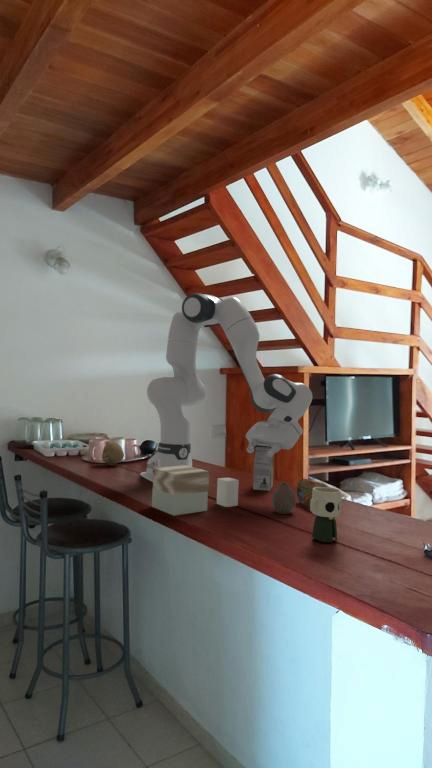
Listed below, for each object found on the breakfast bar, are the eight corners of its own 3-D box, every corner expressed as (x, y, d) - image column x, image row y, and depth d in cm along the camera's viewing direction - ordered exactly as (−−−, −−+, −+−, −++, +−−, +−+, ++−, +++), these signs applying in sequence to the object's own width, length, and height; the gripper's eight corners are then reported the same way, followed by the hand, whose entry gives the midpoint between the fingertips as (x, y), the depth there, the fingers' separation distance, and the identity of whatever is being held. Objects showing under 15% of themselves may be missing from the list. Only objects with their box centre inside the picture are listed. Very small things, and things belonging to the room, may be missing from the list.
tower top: (152, 487, 168) (153, 467, 168) (185, 484, 176) (186, 465, 176) (175, 495, 159) (175, 474, 159) (208, 491, 166) (209, 471, 166)
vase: (296, 511, 170) (298, 482, 170) (292, 516, 164) (293, 486, 163) (274, 508, 172) (275, 480, 172) (269, 513, 166) (270, 484, 166)
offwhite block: (216, 503, 176) (217, 478, 176) (227, 502, 179) (228, 477, 178) (226, 507, 172) (227, 481, 172) (237, 505, 175) (238, 480, 174)
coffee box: (255, 484, 208) (257, 442, 208) (272, 486, 207) (274, 443, 207) (252, 489, 199) (254, 445, 199) (270, 491, 198) (272, 446, 198)
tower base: (151, 507, 169) (152, 487, 169) (184, 502, 176) (185, 484, 176) (173, 516, 159) (174, 495, 159) (207, 511, 167) (207, 491, 166)
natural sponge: (127, 465, 240) (128, 442, 240) (117, 468, 231) (118, 444, 231) (108, 463, 243) (109, 440, 242) (98, 466, 234) (98, 442, 234)
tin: (295, 501, 184) (296, 476, 183) (303, 501, 185) (304, 475, 185) (322, 512, 170) (323, 485, 170) (330, 512, 171) (332, 484, 171)
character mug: (319, 547, 135) (322, 494, 134) (298, 539, 140) (301, 488, 140) (349, 541, 141) (352, 490, 141) (328, 534, 147) (330, 485, 146)
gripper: (255, 414, 195) (233, 443, 189) (298, 419, 179) (274, 451, 173) (264, 426, 198) (242, 455, 192) (307, 432, 182) (284, 464, 176)
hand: (258, 453), depth 182 cm, fingers open, 8 cm apart
